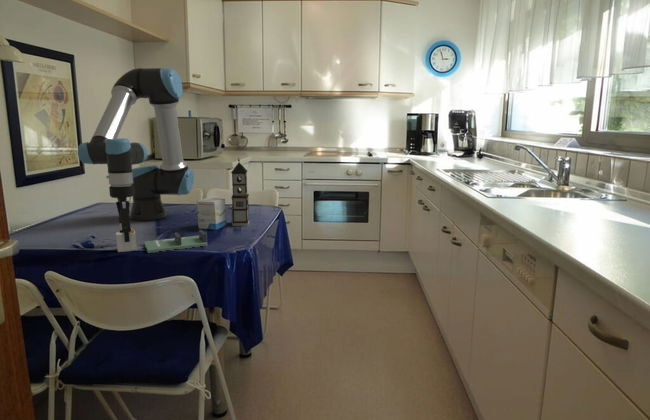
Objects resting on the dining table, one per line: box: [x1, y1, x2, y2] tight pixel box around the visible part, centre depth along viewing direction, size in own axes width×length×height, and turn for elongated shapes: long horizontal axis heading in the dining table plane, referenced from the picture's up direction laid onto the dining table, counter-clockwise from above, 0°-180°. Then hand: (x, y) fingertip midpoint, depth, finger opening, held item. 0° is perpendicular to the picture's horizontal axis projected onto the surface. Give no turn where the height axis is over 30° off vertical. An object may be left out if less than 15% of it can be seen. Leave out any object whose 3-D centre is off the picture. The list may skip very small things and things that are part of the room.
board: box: [143, 229, 209, 254], centre depth 164 cm, size 12×20×4 cm, turn 117°
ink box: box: [196, 197, 227, 231], centre depth 189 cm, size 9×8×12 cm
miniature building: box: [230, 158, 250, 227], centre depth 192 cm, size 7×7×30 cm
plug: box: [115, 227, 138, 253], centre depth 158 cm, size 4×6×7 cm, turn 117°
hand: (126, 245), depth 158 cm, fingers open, 13 cm apart
